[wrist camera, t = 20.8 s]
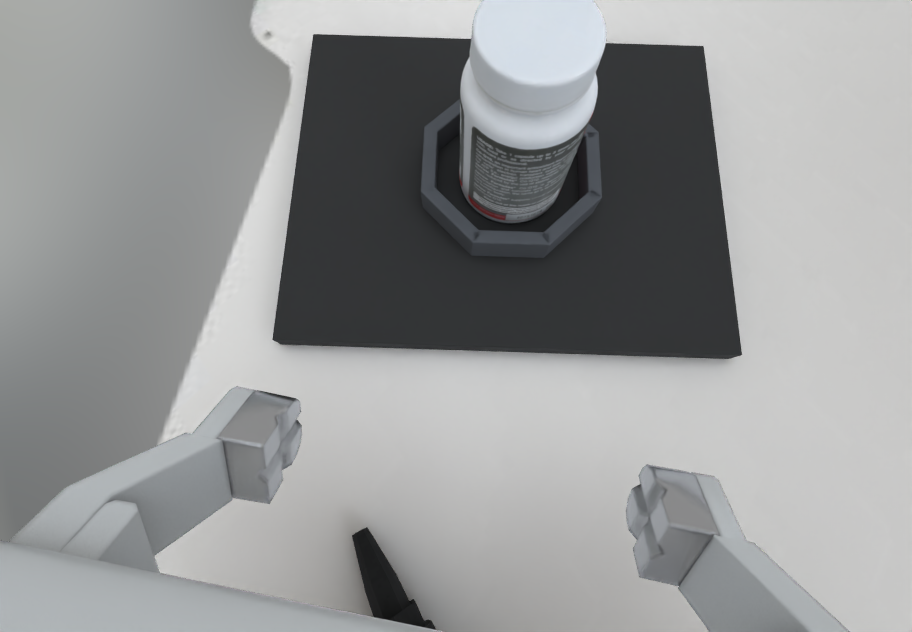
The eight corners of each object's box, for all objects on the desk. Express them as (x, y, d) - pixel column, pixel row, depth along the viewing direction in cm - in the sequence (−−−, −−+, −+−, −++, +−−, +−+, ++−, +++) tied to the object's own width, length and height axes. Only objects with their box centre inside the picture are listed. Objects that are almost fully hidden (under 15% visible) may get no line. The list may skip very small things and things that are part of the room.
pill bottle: (579, 199, 22) (654, 56, 13) (489, 243, 21) (512, 121, 13) (528, 121, 23) (569, -56, 14) (441, 160, 22) (433, -1, 14)
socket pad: (694, 61, 25) (720, 20, 22) (728, 359, 21) (765, 348, 18) (318, 49, 25) (304, 7, 22) (280, 344, 21) (257, 332, 18)
